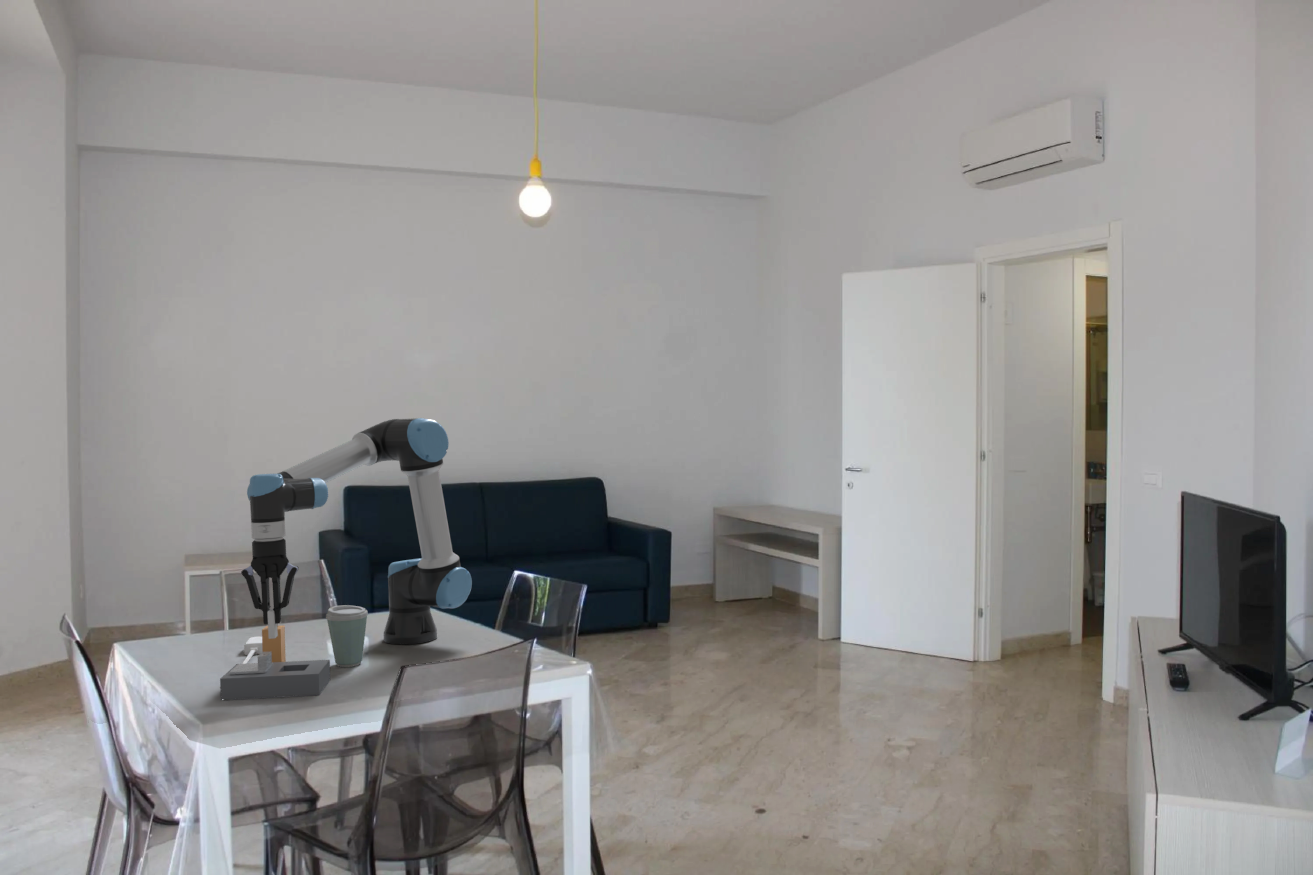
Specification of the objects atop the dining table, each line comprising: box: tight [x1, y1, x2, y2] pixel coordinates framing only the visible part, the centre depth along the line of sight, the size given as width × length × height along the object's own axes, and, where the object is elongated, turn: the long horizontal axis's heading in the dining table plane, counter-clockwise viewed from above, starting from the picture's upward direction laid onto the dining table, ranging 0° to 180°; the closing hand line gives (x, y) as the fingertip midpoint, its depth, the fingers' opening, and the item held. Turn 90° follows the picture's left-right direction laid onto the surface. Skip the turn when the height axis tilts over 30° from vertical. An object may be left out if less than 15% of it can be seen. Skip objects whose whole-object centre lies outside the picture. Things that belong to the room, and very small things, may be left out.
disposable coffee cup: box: [325, 604, 368, 668], centre depth 270 cm, size 11×11×15 cm
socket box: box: [219, 659, 331, 701], centre depth 247 cm, size 22×14×5 cm, turn 98°
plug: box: [261, 623, 287, 662], centre depth 261 cm, size 4×4×14 cm
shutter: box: [230, 651, 273, 675], centre depth 246 cm, size 8×8×4 cm
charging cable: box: [241, 635, 263, 664], centre depth 279 cm, size 5×32×3 cm, turn 12°
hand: (273, 637), depth 247 cm, fingers closed
